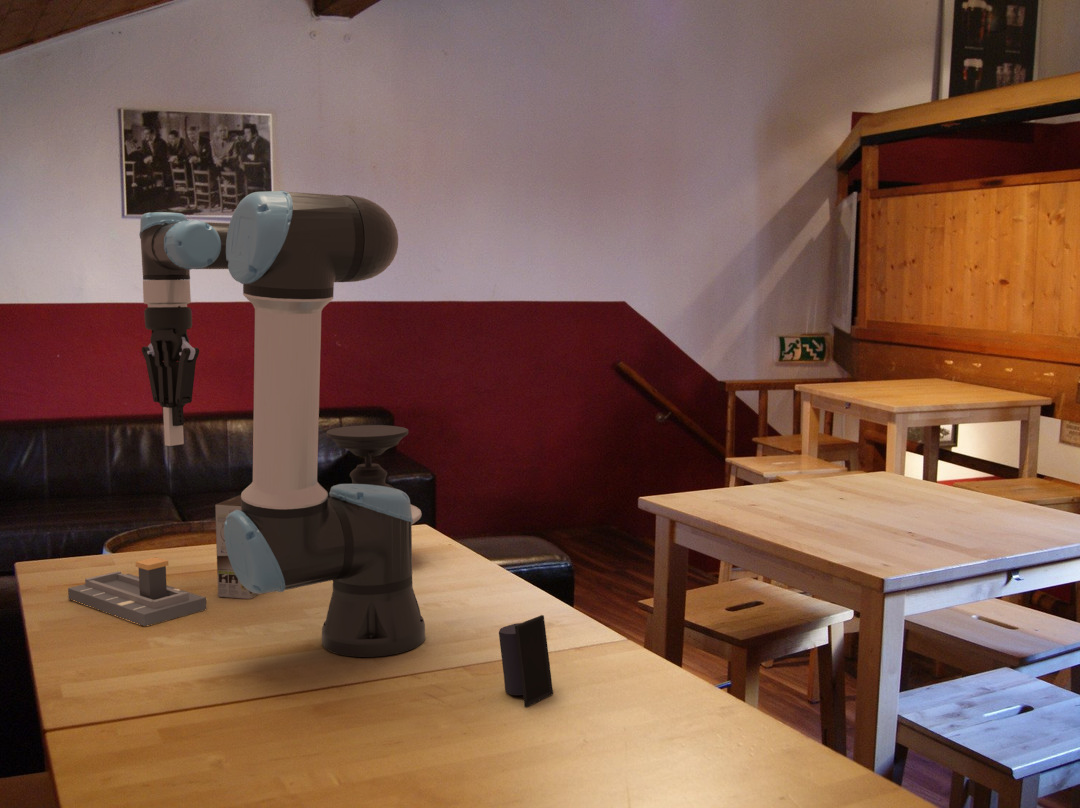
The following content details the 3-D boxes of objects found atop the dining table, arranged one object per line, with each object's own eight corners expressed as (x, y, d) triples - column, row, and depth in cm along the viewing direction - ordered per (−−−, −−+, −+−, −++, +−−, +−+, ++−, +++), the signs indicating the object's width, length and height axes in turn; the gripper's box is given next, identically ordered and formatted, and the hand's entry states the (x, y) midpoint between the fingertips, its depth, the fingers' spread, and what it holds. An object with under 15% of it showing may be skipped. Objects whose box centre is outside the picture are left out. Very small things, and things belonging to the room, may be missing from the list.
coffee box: (252, 599, 175) (248, 505, 173) (216, 597, 176) (213, 503, 174) (276, 584, 184) (273, 494, 182) (242, 582, 185) (239, 493, 183)
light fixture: (314, 554, 204) (310, 425, 201) (413, 547, 209) (411, 421, 206) (322, 582, 185) (318, 440, 182) (430, 573, 190) (428, 435, 188)
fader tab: (169, 595, 169) (168, 560, 169) (149, 600, 166) (147, 565, 166) (157, 591, 172) (155, 557, 171) (137, 596, 169) (135, 561, 168)
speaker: (565, 696, 133) (557, 616, 133) (525, 708, 130) (517, 626, 130) (535, 682, 140) (528, 606, 139) (497, 693, 137) (489, 616, 136)
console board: (206, 609, 170) (205, 590, 169) (144, 627, 161) (144, 606, 161) (129, 584, 184) (128, 567, 183) (68, 599, 175) (67, 581, 175)
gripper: (210, 305, 175) (216, 444, 177) (164, 305, 182) (170, 439, 185) (171, 306, 169) (178, 450, 171) (125, 306, 176) (132, 444, 179)
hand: (174, 444), depth 178 cm, fingers closed
